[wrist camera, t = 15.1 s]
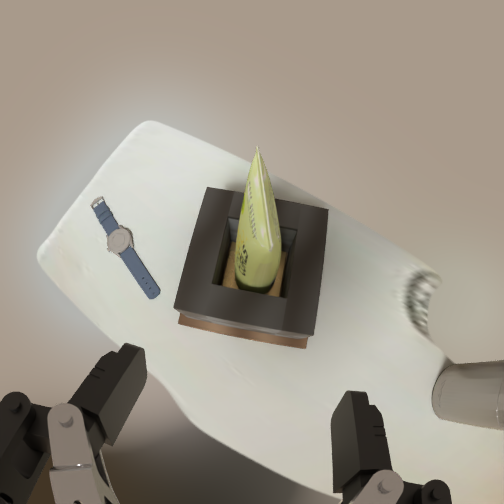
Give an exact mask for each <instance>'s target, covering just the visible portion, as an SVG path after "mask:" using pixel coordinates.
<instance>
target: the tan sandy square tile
mask: <svg viewBox="0 0 504 504" xmlns="http://www.w3.org/2000/svg"><path fill="white" fill-rule="evenodd" d="M235 249H236V242H232V245H231V249H230V253H229V258H228V262H227V267H226V271H225V275H224V280H223V284H222V286H224V287H229V288H234V289H239V287H238V286H237V284H236V280H235ZM285 257H286V252H284V251H281V258H280V264H279V268H278V272H277V276H276V279H275V282H274V285H273V287H272V288H271V289H270V290H269V291H268V292H267V293H265V295H271V296H276V297H279V293H280V287H281V281H282V275H283V269H284V263H285ZM239 290H240V289H239Z"/></svg>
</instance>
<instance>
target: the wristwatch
mask: <svg viewBox="0 0 504 504" xmlns="http://www.w3.org/2000/svg"><path fill="white" fill-rule="evenodd" d="M100 199H103V198H102V197H99V198H97V199H95V200H94V201H93V202H92V204H91V205H90V206H91V207H92V206H93V205H94V204H95V203H97V202H98V201H99V200H100ZM97 204H98V203H97ZM92 209H93V208H92ZM93 210H94V212H95V213H96V217H97V218H98V219H99V222H100V224H102V226H103V228H104V230H105V231H106V233H107V235H106V236H107V246H108V248H107V250H108V252H110V251H111V252H113V253H114V254H116V255H117V256H118V257H120V258H122V260H123V261H124V263H125V264H126V266H127V267H128V269H129V270H130V272H131V273H132V275H133V276H134V278H135V279H136V281H137V282H138V284H139V285H140V287H141V288H142V290H143V291H144V293H145V294H146V295H147V297H148V298H149V299H154V298H155V297H157V296H158V295H159V293H160V289H159V287H158V286H157V285H156V283H155V282H154V280H153V279H152V277H151V276H150V274H149V273H148V271H147V270H146V268H145V267H144V265H143V264H142V262H141V260H140V259H139V257H138V256H137V254H136V253H135V251H134V249H133V248H134V247H133V242H132V236H131V234H130V233H129V231H128V230H126V229H124V228H122V227H121V226H120V225H119V226H118V224H117V223H116V221H115V219H114V218H113V214H112V213H111V212H110V211H109V208H108V206H106V204H105V203H104V200H103V202H102V203H100V204H99V205H98V206H96V207H95V208H94V209H93ZM129 246H130V247H129ZM119 253H121V254H120V255H119ZM143 278H144V279H143ZM150 288H151V289H150Z"/></svg>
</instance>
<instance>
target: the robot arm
mask: <svg viewBox="0 0 504 504" xmlns="http://www.w3.org/2000/svg"><path fill="white" fill-rule="evenodd" d="M146 379H147V368H146V359H145V351H144V349H143V348H141V347H138V346H135V345H132V344H129V343H125V344H124V345H123V346H122V347H121V349H120V350H119V351H118V353H116V352H113V351H111V352H109V353H107V354H106V355H104V356H102V357H101V358H100V360H99V361H98V362H97V364H96V365H95V368H93V369H92V370H91V372H90V374H89V375H88V376H87V377H86V379H85V380H84V381H83V383H82V384H81V385H80V387H79V388H78V390H77V391H76V392H75V394H74V395H73V396H72V398H71V399H70V400H69V402H68V403H62V404H58V405H56V406H54V407H53V408H51V407H45V406H41V405H36V404H33V403H31V402H30V400H29V399H28V397H27V396H26V395H25V394H23V393H21V392H11V393H9V394H7V395H6V396H5V397H4V398H3V399H2V401H1V402H0V504H27V501H28V499H29V497H30V495H31V493H32V491H33V488H34V486H35V484H36V482H37V480H38V478H39V476H40V474H41V472H42V470H43V468H44V466H45V464H46V462H47V460H48V458H49V456H50V454H52V460H53V468H51V469H50V480H51V485H52V489H53V494H54V498H55V502H56V504H119V502H118V500H117V498H116V496H115V494H114V492H113V489H112V487H111V484H110V481H109V478H108V474H107V471H106V468H105V465H104V461H103V458H102V454H101V451H100V449H101V447H102V445H103V444H104V443H106V444H108V445H111V446H113V444H114V443H115V441H116V439H117V437H118V435H119V433H120V431H121V429H122V427H123V425H124V423H125V421H126V420H127V418H128V416H129V414H130V412H131V410H132V408H133V406H134V405H135V402H136V401H137V399H138V397H139V395H140V393H141V392H142V390H143V388H144V386H145V383H146ZM432 405H433V409H434V412H435V414H436V415H437V416H438V417H439V418H441V419H442V420H447V421H452V422H457V423H461V424H466V425H472V426H477V427H483V428H490V429H497V430H504V360H499V361H490V362H479V363H467V364H466V363H465V364H454V365H451V366H449V367H448V368H446V369H445V370H444V371H443V372H442V374H441V375H440V376H439V378H438V380H437V381H436V384H435V386H434V390H433V396H432ZM385 435H386V433H385V428H384V423H383V418H382V415H381V413H380V412H379V410H378V409H377V407H376V406H375V405H369V401H368V396H367V393H366V392H360V391H346V392H345V394H344V396H343V397H342V399H341V401H340V403H339V404H338V406H337V408H336V409H335V411H334V413H333V415H332V419H331V440H332V463H333V493H343V499H342V500H341V501H340V502H339V503H338V504H452V501H451V495H450V490H449V487H448V486H447V484H446V483H445V482H443V481H441V480H431V481H429V482H428V483H426V484H425V485H420V484H414V483H409V482H405V481H403V480H402V478H401V477H400V476H399V475H398V474H397V473H396V472H394V471H393V469H392V466H391V460H390V454H389V448H388V443H387V438H386V437H385Z"/></svg>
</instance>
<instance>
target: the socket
mask: <svg viewBox="0 0 504 504" xmlns="http://www.w3.org/2000/svg"><path fill="white" fill-rule="evenodd" d="M243 198H244V193H241V192H235V191H229V190H223V189H216V188H210V187H207V189H206V192H205V195H204V198H203V202H202V205H201V208H200V212H199V215H198V218H197V222H196V225H195V229H194V232H193V236H192V239H191V243H190V246H189V250H188V253H187V257H186V261H185V264H184V268H183V272H182V276H181V280H180V283H179V287H178V291H177V295H176V299H175V303H174V307H173V308H174V309H176V310H177V311H179V312H180V317H179V321H178V324H180V325H185V326H189V327H193V328H197V329H202V330H206V331H210V332H215V333H220V334H224V335H229V336H234V337H239V338H244V339H249V340H255V341H260V342H266V343H271V344H277V345H283V346H289V347H296V348H302V349H305V348H306V345H307V339H308V337H310V336H313V335H314V329H315V323H316V316H317V309H318V302H319V295H320V287H321V279H322V271H323V262H324V253H325V243H326V233H327V222H328V209H324V208H319V207H314V206H310V205H305V204H300V203H295V202H290V201H285V200H279V199H275V204H276V210H277V215H278V221H279V228H280V235H281V251H284V252H286V257H285V263H284V269H283V275H282V281H281V287H280V293H279V297H276V296H271V295H265V294H260V293H255V292H250V291H244V290H239V289H234V288H229V287H224V286H222V284H223V280H224V275H225V271H226V267H227V262H228V258H229V253H230V249H231V245H232V242H236V239H237V232H238V225H239V219H240V214H241V208H242V203H243Z"/></svg>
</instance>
